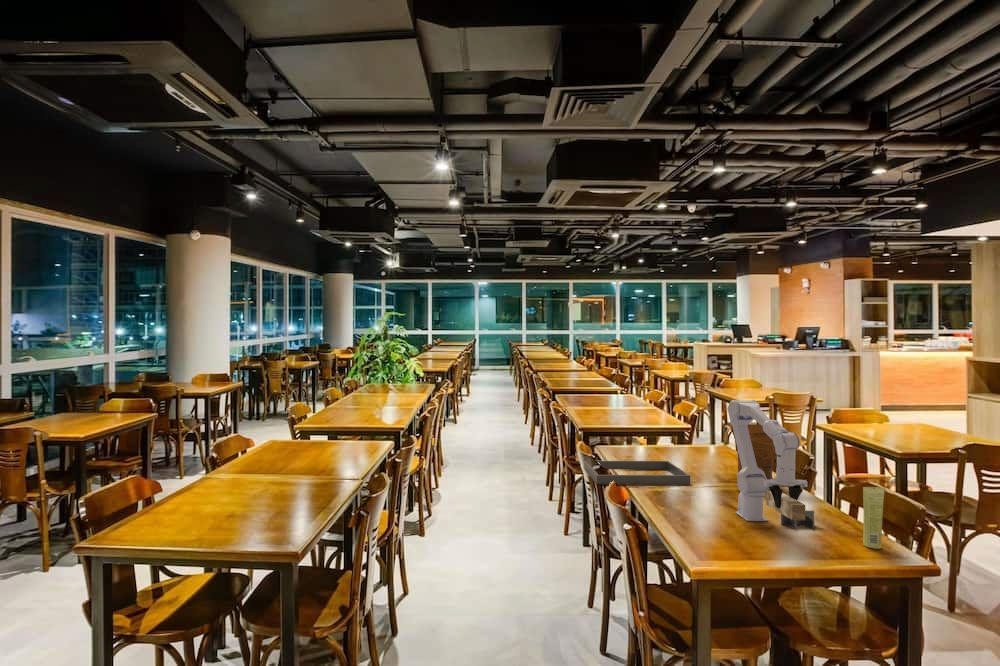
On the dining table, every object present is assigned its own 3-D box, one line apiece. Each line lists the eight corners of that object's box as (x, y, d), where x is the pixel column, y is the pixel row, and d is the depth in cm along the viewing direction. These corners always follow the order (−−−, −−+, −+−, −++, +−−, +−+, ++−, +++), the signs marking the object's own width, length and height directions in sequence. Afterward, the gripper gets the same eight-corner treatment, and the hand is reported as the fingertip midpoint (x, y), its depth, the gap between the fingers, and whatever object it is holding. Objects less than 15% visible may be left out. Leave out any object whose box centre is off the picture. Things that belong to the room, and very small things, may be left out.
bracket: (780, 524, 204) (781, 510, 204) (812, 524, 205) (813, 510, 205) (788, 528, 200) (788, 514, 200) (820, 528, 200) (821, 514, 200)
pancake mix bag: (780, 486, 255) (782, 424, 254) (738, 485, 255) (739, 423, 255) (774, 482, 261) (775, 422, 261) (732, 481, 262) (733, 421, 262)
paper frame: (583, 468, 281) (583, 460, 281) (668, 468, 283) (668, 460, 283) (596, 484, 253) (596, 475, 253) (690, 484, 255) (690, 475, 255)
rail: (766, 504, 202) (766, 490, 202) (778, 504, 202) (778, 490, 202) (791, 519, 186) (792, 504, 186) (805, 519, 186) (805, 504, 186)
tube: (865, 541, 188) (866, 483, 188) (883, 546, 185) (884, 486, 185) (861, 546, 184) (862, 487, 184) (879, 550, 181) (881, 490, 181)
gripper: (771, 470, 189) (770, 511, 190) (813, 471, 190) (812, 511, 190) (760, 465, 197) (759, 504, 197) (801, 465, 197) (800, 504, 197)
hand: (784, 507), depth 194 cm, fingers closed on rail, 4 cm apart
